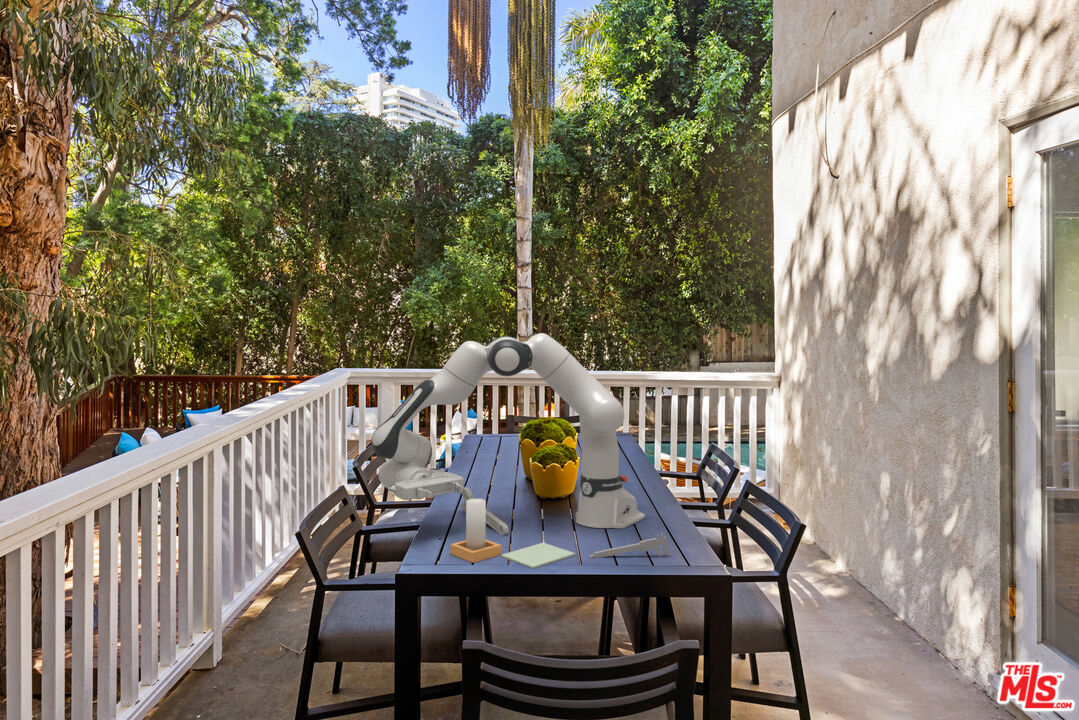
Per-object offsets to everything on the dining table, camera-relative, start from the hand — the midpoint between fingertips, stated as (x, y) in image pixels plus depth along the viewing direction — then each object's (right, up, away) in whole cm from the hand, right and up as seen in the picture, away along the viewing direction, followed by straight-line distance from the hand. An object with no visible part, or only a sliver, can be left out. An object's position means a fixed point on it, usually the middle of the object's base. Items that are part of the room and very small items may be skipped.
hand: (446, 492), depth 196 cm
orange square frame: (+9, -15, -8) cm, 19 cm away
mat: (+25, -15, -9) cm, 30 cm away
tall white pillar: (+9, -15, -8) cm, 19 cm away
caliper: (+48, -15, -9) cm, 51 cm away
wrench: (+8, -13, +21) cm, 26 cm away
